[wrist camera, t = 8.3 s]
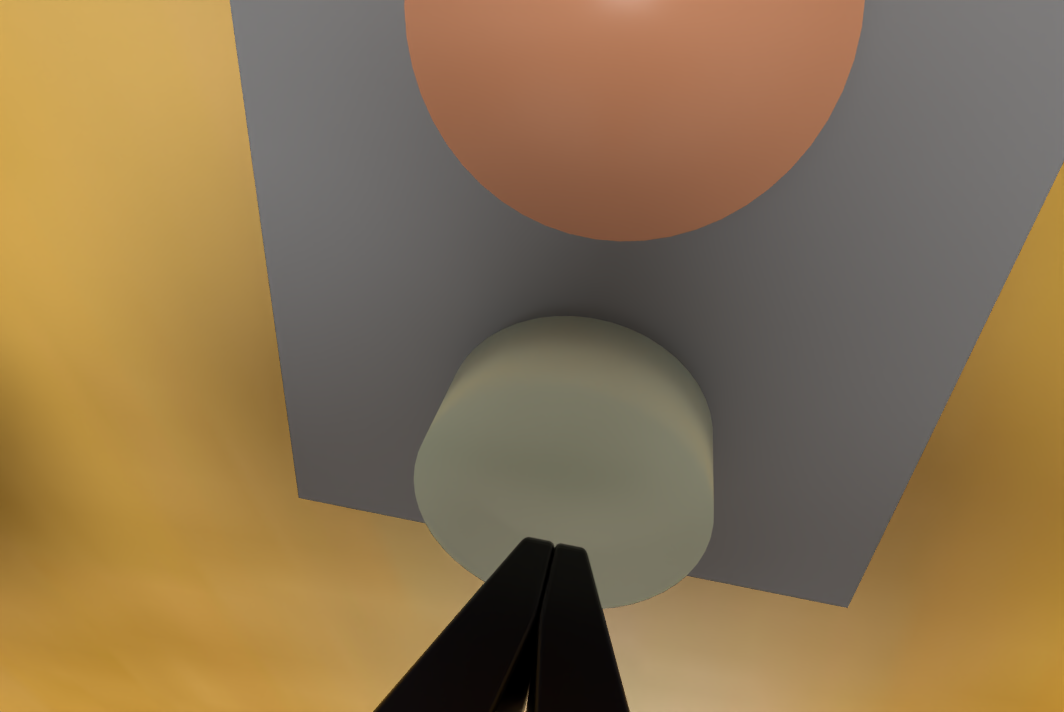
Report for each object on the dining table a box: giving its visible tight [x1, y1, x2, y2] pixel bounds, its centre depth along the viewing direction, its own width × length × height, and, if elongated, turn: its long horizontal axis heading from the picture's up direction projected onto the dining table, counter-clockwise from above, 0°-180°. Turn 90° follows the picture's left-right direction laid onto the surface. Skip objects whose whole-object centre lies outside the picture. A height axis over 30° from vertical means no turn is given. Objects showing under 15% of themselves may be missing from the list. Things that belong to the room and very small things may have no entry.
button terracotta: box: [404, 0, 865, 241], centre depth 8 cm, size 4×4×2 cm
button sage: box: [414, 316, 714, 609], centre depth 12 cm, size 4×4×2 cm
